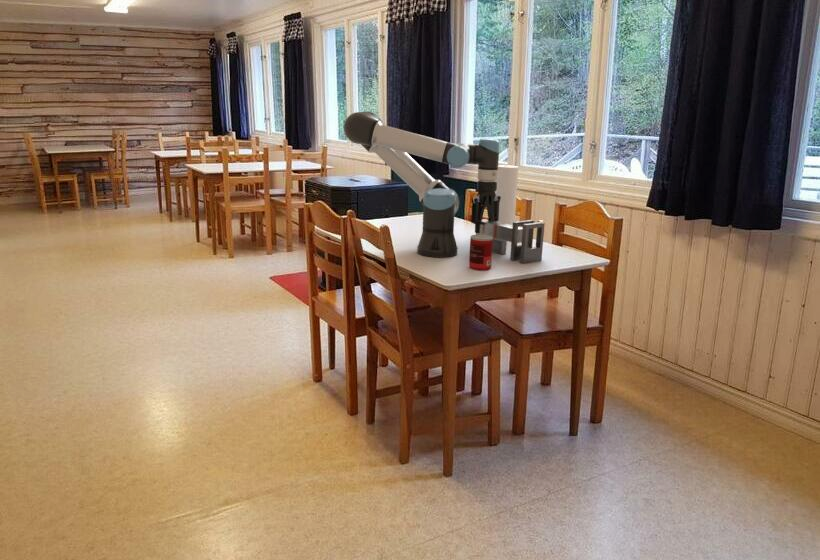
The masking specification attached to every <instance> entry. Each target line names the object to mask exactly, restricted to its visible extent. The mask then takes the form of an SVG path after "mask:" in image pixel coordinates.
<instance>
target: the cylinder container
mask: <svg viewBox="0 0 820 560" xmlns="http://www.w3.org/2000/svg"><path fill="white" fill-rule="evenodd" d="M518 176H519V166H517V165H510V164H504V165H503V164H501V165H499V164H498V175H497V180H496V182H497V190H496V191H495V194H496V195H497V196H501V199H500V202H499V220H498V221H496V222H500V223H505V224H509V225H513V222H516V221H515V220H516V208H517V195H518V178H519V177H518ZM495 218H496V217H495Z"/></svg>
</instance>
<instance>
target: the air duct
mask: <svg viewBox="0 0 820 560" xmlns="http://www.w3.org/2000/svg"><path fill="white" fill-rule="evenodd" d="M481 225H482V235H489V236H492V237H493V238H497V239H501V240H505V241H507V242H510V243H511V241H512V227H513V225H509V224H505V223H500V222H496V221H492V220H488V218H487V219H486V218H482V221H481ZM522 231H523V226H519V227H518V238H517V244H519V243H520V244H522Z"/></svg>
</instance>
